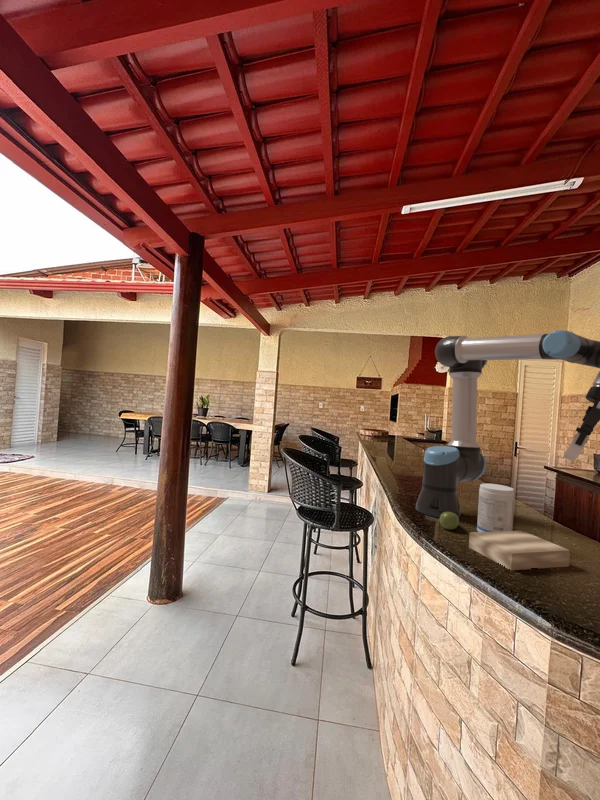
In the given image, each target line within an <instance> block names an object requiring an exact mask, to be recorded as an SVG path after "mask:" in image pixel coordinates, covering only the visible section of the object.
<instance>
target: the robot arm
mask: <svg viewBox="0 0 600 800" xmlns="http://www.w3.org/2000/svg"><path fill="white" fill-rule="evenodd" d="M434 354H435V359H436V360H437V362H439V364H440V365H442V366H444V367H446V368H448V375H449V376H450V378H452V402H451V403H452V406H451V407H452V410H451V411H452V413H451V415H452V416H451V440H450V442H448V443H447V446H445V445H444V446H443V445H439V446H438V445H434V446H430V447H427V448H426V449H425V451H424V457H423V470H422V471H423V472H422V483H421V484H422V485H421V486H422V487H421V490H420V493H419V495H418V498H417V500H416V503H415V510H416V511H417V512H419V513H421V514H424V515H426V516H430V517H434V518H440V515H441V514H442V513H443V512H452V513H455V514H456V515H457V516H458V518H460V517H461V512H462V509H461V506H460V501H459V499H458V498H459V497H458V495H457V489H458V483H459V482H460V483H461V482H472V481H476V480H478V479H479V478H481V477H482V476H483V475H484V474H485V472H486V470H487V462H486V458H485V456H483V454H482V452H481V445H480V444H479V443H478V442H477V417H478V415H477V414H478V413H477V409H478V408H477V405H478V403H477V402H478V401H477V400H478V379H479V377H481V375H482V373H483V372H482V370H483V369H484V367H485V366H486V365H487V364H488V361H513V360H516V361H521V360H561V361H565V362H567V363H571V364H577V365H582V366H588V367H593V368H597V369H600V340H594V339H591V338H586V337H584V336H582V335H578V334H576V333H574V332H573V331H569V330H562V329H560V330H559V329H557V330H554V331H552V332H551V331H550V333H534V334H533V333H532V334H522V335H521V334H517V335H516V334H515V335H501V336H500V335H499V336H485V337H469V336H467V335H449V336H446V337H442V339H440V340H439V341H438V342H437V344H436V346H435V349H434ZM591 385H592V386H591V387H589V389H588V391H587V393H586V395H585V399H586V400H587V401H589V403H592V404H593V405H588V406H587V409H586V410H585V414H584V417H582V424H581V426H580V427H576V429H575V431H576V434H575V435H574V437H573V439H572V441H571V442H570V444H569V446H568V447H567V450H566V451H565V453H564V455H563V456H562V458H564V459H565V460H568V461H571V462H573V463H574V462H575V460H576V459H579V456H580V454H581V453H582V451H583V449H584V447H585V446H586V444H587V443H588V439H589V438H590V437H589V436H591V435H592V432H594V428H595V427H596V425H597V424H598V423H599V422H600V370H599V371H598V373H597V375H596V376H595V378H594V380H593V382H592V384H591Z"/></svg>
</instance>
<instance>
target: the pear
mask: <svg viewBox="0 0 600 800" xmlns="http://www.w3.org/2000/svg"><path fill="white" fill-rule="evenodd" d="M439 522H440V525H441V527H443V528H444V529H445V530H449V531H452V530H455V529H456V528H457V527H458V525H459V522H460V517H458V516H457V515H456V514H455V513H452V512H443V513H442V514H441V515H440V517H439Z"/></svg>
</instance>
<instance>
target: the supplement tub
mask: <svg viewBox="0 0 600 800" xmlns="http://www.w3.org/2000/svg"><path fill="white" fill-rule="evenodd" d="M477 506H478V507H477V523H476V524H477V525H476V532H498V531H513V524H514V509H515V489H514V488H513V487H510V486H507V485H502V484H497V483H480V485H479V489H478V505H477Z"/></svg>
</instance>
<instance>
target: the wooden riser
mask: <svg viewBox="0 0 600 800" xmlns="http://www.w3.org/2000/svg"><path fill="white" fill-rule="evenodd" d="M468 539H469V540H468V548H469V549H471V550H473V551H475V552H477V553H478V554H481V555H482V556H484V557H486V558H488V559H489V560H491V561H493V562H495V563H497V564H498V563H499V565H500V564H501V565H500V566H502V565H503V566H502V567H504V566H505V568H506V569H507V570H509V569H510V571H519V570H520V571H521V570H532V569H531V568H538V569H549V568H551V569H552V568H565V567H570V556H571V550H570V549H568V548H565V547H563V546H561V545H558V544H555V543H553V542H551V541H548V540H546V539H543V538H541V537H539V536H536V535H534V534H531V533H529V532H526V531H524V530H512V531H498V532H478V531H472V532H469V537H468Z"/></svg>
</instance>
